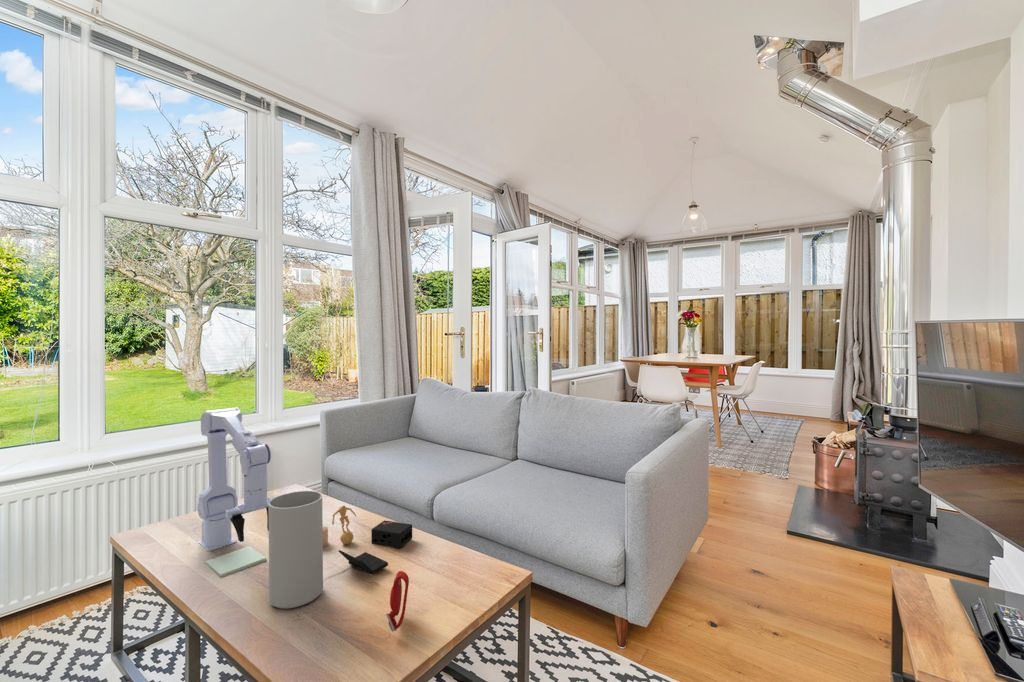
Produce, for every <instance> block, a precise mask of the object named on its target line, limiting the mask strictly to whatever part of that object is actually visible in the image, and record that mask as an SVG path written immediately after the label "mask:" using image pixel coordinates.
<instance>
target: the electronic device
mask: <svg viewBox="0 0 1024 682" xmlns="http://www.w3.org/2000/svg"><path fill="white" fill-rule="evenodd" d="M412 539H413V524H411V523H403V522H398V521H391V520H385V519H384V520H383V521H381V522H380V523H379V524H377V525H375V526H374V527H372V528H371V544H372V545H377V546H378V545H379V546H383V547H384V546H385V547H391V548H397V549H401V548H403V547H404V546H405V545H406V544H408V543H409V542H410V541H411V540H412Z"/></svg>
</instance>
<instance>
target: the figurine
mask: <svg viewBox="0 0 1024 682" xmlns="http://www.w3.org/2000/svg"><path fill="white" fill-rule="evenodd" d="M347 511H350V512H351V513H352V514H353V515H354V517H357V515H356V513H355V512H354V510H353V509H352V508H350V507H346V505H342V506H339V507H338V509H337V510H336V511H335V512H334V513H333V514H332V522H331V524H332V526H333V525H335V516H336V515H337V514H339V515H340V518H339V521H340V524H341V529H342V533H341V535H340V542H341V543H342V544H343V545H349V544H350V543H352V542H353V541H354V534H353V532H352V531H351V530H350V529H349V525H350V523H351V522H350V519H349V516H348V515H346V514H347ZM345 523H346V524H345ZM344 527H345V528H346V530H345V528H344Z"/></svg>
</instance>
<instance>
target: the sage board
mask: <svg viewBox="0 0 1024 682" xmlns="http://www.w3.org/2000/svg"><path fill="white" fill-rule="evenodd" d="M266 561H267V556H264V555H263V554H262V553H260V552H259V551H258V550H256V549H255V548H253V547H251V546H250V545H248V546H246V547H243V548H240V549H237V550H235V551H231V552H228V553H225V554H222V555H220V556H217V557H214V558H211V559H208V560H205V561H204V562H205V564H206V565H207V566H208V567H209V568H210V569H211V570H212V571H213V572H214V573H216V575H218V576H219V578H223V577H225V576H228V575H231V574H234V573H237V572H239V571H242V570H244V569H247V568H250V567H252V566H255V565H258V564H260V563H264V562H266Z"/></svg>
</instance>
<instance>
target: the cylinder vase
mask: <svg viewBox="0 0 1024 682" xmlns="http://www.w3.org/2000/svg"><path fill="white" fill-rule="evenodd" d="M274 497H275V498H273V497H272V498H273V499H271V500H270V501H269V503H268V510H269V531H268V600H269V603H270V604H271V606H273V607H275V608H277V609H285V610H287V609H293V608H298V607H301V606H304V605H306V604H308V603H311V602H313V601H315V599H317V598H318V597H319V595H321V593H322V591H323V589H324V566H323V565H324V559H323V558H324V557H323V556H324V555H323V552H324V547H323V527H324V526H323V520H324V519H323V493H321V492H319V491H316V490H298V491H293V492H287V493H283V494H280V495H277V496H274Z"/></svg>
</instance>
